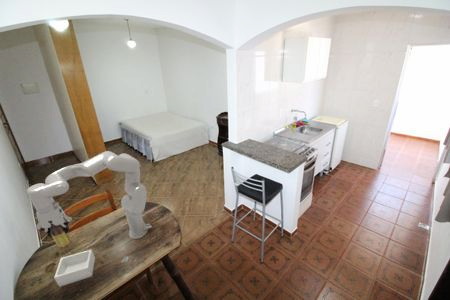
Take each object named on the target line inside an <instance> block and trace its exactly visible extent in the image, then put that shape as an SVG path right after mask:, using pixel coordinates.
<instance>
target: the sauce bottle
mask: <svg viewBox="0 0 450 300" xmlns="http://www.w3.org/2000/svg"><path fill="white" fill-rule="evenodd" d="M48 222H49V223H51V227H49V228H50V234H51V236H52V237H51V238H53V240H54V242H55V244H56V246H57V247H58V248H59V249H61V250H62V249H66V248H68V247H69V246H71V245H72V238H71V237H70V234H69V233H65V231H64V229H63V226H61V225H57V226H56V225H54V224H52V222H53V221H48Z"/></svg>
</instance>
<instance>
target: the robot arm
mask: <svg viewBox="0 0 450 300" xmlns="http://www.w3.org/2000/svg"><path fill="white" fill-rule="evenodd" d="M140 167H141V163H140V162H139V160H138V159H136V158H135V157H133V156H132V155H130V154H128V153H124V152H123V153H121V154H119V155H118V154H116V153H114V152H112V151H110V150H106V151H103V152H101V153H99V154H97V155H95V156H93V157H91V158H89V159H87V160H85V161H83V162H81V163H75V164H72V165H67V166H65V167H62V168H59V169H58V170H56V171H54V172H52V173H50V174H49V175H48V176H46V178H45V180H44V182H45V183H40V182H39V183H35V184H33V185H31V186H29V187H28V188H27V189H26V193H27V196H28V197H29V199H30V201H31V203H32V205H33V207H34V209H35V211H36V218H37V222H38V223H37V225H36V226H35V229H37V230H40V231H43V232H44V233H46V234H47V236H48V237H49V238H51V239H52V238H53V237H52V236H51V234H50V227H51V223H49V222H48V221H53V222H52V224H54V225H56V226H57V225H61V226H63V229H64V231H65V233H68V232H69V230H70V227H69V226H68V225H69V224H70V222H71V221H72V219H73V218H72V216H68V215H66V213H65V211H64V210H63V209H62V207H61V206H60V205H59V202H58V201H57V202H56V201H55V200H54V197H56V196H57V197H58V196H61V195H63V194H65V193H67V192H68V191H69V190H70V185H69V183H68V182H67V181H68V180H71V179H74V178H77V177H93V176H94V175H96V174H98V173H100V172H101V171H103V170H105V169H108V170H110V171H114V172H120V173H125V180H124V192H125V193H127V194H125V195H124V196H123V197H122V199H121V200H120V203H121V208H122V209H123V212H124V213H125V218H126V220H127V224H128V227H129V231H128V236H129V237H130V238H131V239H133V240H136V239H137V240H139V239H141V238H142V237H144V236H145V235H147V233H148V230H149V229H151V228H153V227H152V225H151V224H150V223H145V222H144V218H143V215H142V214H143V212H144V211H145V208H146V202H147V195H148V194H147V193H148V192H147V187H146V186H145V185H143V183H141V170H140ZM68 234H69V233H68Z"/></svg>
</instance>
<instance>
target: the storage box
mask: <svg viewBox="0 0 450 300" xmlns="http://www.w3.org/2000/svg"><path fill="white" fill-rule="evenodd" d="M95 261H96V257H95V254H94V252H93V249H88V250H85V251H80V252H77V253H73V254H70V255H67V256H63V257H60V259H59V263H58V266H57V268H56V271H55V274H54V277H53V278H54V280H55V282H56V284H57V286H58V287H59V288H61V287H64V286H67V285H70V284H74V283H76V282H80V281H82V280H85V279H86V280H87V279H89V278H92V277H93V274H94V273H93V272H94V267H95V263H96V262H95Z"/></svg>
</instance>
